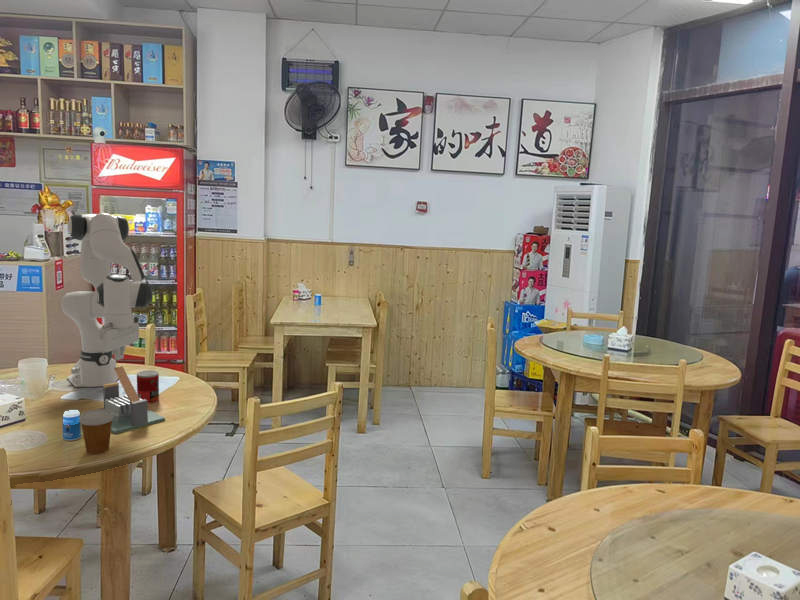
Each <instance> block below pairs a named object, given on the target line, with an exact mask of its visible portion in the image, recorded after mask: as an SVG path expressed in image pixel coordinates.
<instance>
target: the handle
mask: <svg viewBox="0 0 800 600" xmlns="http://www.w3.org/2000/svg"><path fill="white" fill-rule="evenodd" d="M114 371H115V373H116V375H117V377H118V381H119V384H121V386H122V388H123V390H124V391H123V392H125V394H126V396H128V398H129V400H130V402H135V401H139V400H140V399H139V397H138V395H137V392H136V389H135V387H134V386H133V383H132V382H131V380H130V378H129V375H127V372H126V371H125V368H124V367H123V365H122V366H121V365H120V366H116V368H114Z"/></svg>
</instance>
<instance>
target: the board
mask: <svg viewBox="0 0 800 600" xmlns="http://www.w3.org/2000/svg"><path fill="white" fill-rule="evenodd" d="M119 387H120V382H117V381H116V382H115V383H110V384H105V385H103V386H102V392H103V393H102V394H103V407H102V408H101V409H105V400H106V399H108V400H110V398H112V399H114V398H115V397H117V398H119V396H120V388H119ZM164 421H166V417H164V416H162V415H160V414H158V413H156V412H154V411H151V410H149V409H148V403H147V400H145V399H144V400H139V401H135V402H131V420H129V421H125V422H121V423H117V422H115V421H113V420H112V425H111V433H113V434H115V435H116V434H120V433H123V432H127V431H130V430H135V429H138V428H141V427H145V426H149V425H152V424H157V423H160V422H164Z"/></svg>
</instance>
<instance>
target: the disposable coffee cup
mask: <svg viewBox="0 0 800 600" xmlns="http://www.w3.org/2000/svg"><path fill="white" fill-rule="evenodd" d="M113 417H114V415H113V414H112V412H111V411H110V410H107V409H102V408H97V409H90V410H87V411H84V412H82V413H81V414H80V417H79V419H78V421H79V422H80V424H81V429H82V434H83V441H84V445H85V450H86V454H89V455H100V454H104V453H106V452H108V451H109V450H110V441H111V434H112V432H111V425H112V419H113Z"/></svg>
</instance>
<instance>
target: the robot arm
mask: <svg viewBox="0 0 800 600" xmlns="http://www.w3.org/2000/svg"><path fill="white" fill-rule="evenodd" d="M67 232H68V233H69V236H70V238H72V239H74V240H77V241H81V245H80V256H79V257H80V264H79V265H80V268H79V269H80V276H81V278H82V279H83V280H84V281H85V282H87V283H89V284H92V286H93V287H94V290H95V291H84V290H83V291H82V290H80V291H79V290H77V291H70V292H67V293H66V294H64V296H63V297H62V299H61V301H60V307H61V310H62V311H63V313H64V314H65V315H66V316H68V317H69V318H70V319H71V320H72V321H73V322H74V323H75V325H76V326H77V328H78V331H79V332H80V338H81V349H80V356H79V360H78V361H77V362H76V363H75V364H73V368H71V369H70V372H71V374H69V375H68V376H67V377H66V379H67V380H68V381H69V382H70V383H71V385H72V386H74V387H75V388H77V387H79V388H83V387H84V388H87V387H88V388H95V387H97V388H98V387H103V385H105V384H110V383H115V382H117V381H119V379H118V377H117V375H116V373H115V371H114V368H116V367H117V361H119V360H122V359H124V357H125V355H124V354H125V352H126V347H127V345H130V344H133V343H137V342H138V340H139V338H140V324H139V323H140V317H139V316H138V315H133V313H132V312H133V310H132V309H131V308H134V309H135V308H136V309H137V308H138V309H139V308H140V309H145V308H146V307H148V306H149V305H150V304H151V303H152V301H153V296H154V295H153V289H152V286H151V284H150V283H149V281H148V279H147V278H146V276H145V272H144V270H143V268H142V265H141V263H140V260H139V259H138V256H137V254H136V252H135V251H134V249H133V248H132V247H130V246H128V245H127V244H126V243H125V242H124V241H125V240H126V239H127V238H128V236H129V233H130V226H129V221H128V220H127V218H126V217H124V216H121V215H112V214H109V213H105V212H103V213H102V212H101V213H85V214H84V213H73V214H72V215H71V216H70V217H69V219H68V222H67ZM111 263H112V264H116V265H119V266H121V267H124V268H125V269H126V270H128V272H129V275H130V277H131V280H132V281H130V278H129V277H128V276H127V275H125V274H120V273H117V274H116V273H113V274H112V273H111V271H112V270H111ZM98 319H103V321H104V322H103V325H102V323H101V324H100V322H99V321H98ZM113 357H114V358H113Z"/></svg>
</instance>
